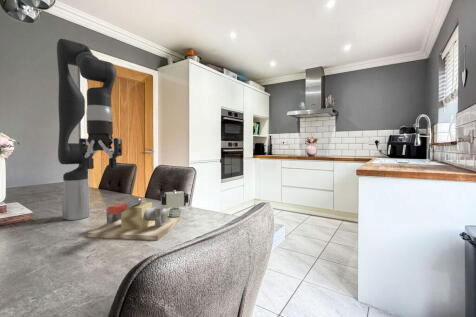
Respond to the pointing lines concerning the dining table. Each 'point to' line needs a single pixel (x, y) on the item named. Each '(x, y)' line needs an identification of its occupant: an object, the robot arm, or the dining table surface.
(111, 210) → the valve lever
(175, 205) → the pneumatic valve
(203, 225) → the dining table surface
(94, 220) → the dining table surface
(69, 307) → the dining table surface
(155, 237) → the valve base
